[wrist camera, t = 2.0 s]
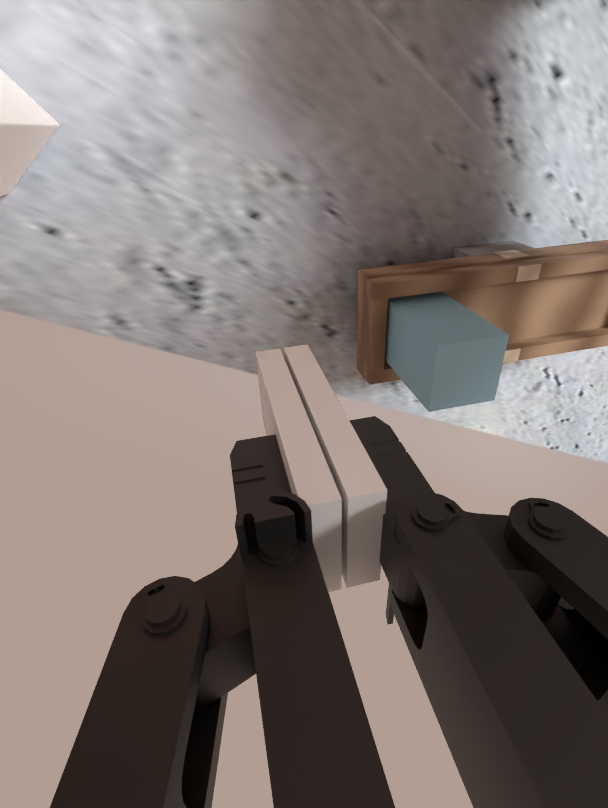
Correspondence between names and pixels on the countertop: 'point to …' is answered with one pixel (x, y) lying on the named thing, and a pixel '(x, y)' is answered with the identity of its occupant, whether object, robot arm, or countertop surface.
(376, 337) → the long brown tray
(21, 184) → the countertop surface
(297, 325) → the countertop surface
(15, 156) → the milk
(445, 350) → the block
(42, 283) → the countertop surface
